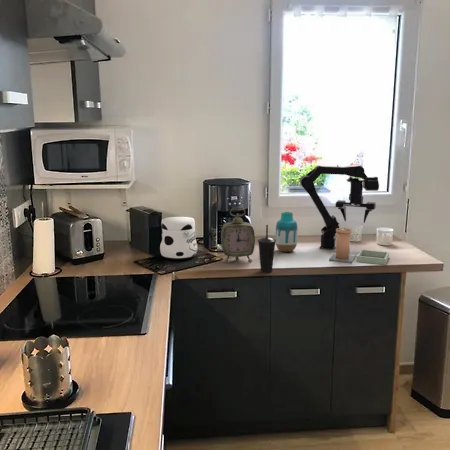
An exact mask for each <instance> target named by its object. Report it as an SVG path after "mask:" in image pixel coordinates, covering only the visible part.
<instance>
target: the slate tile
mask: <svg viewBox="0 0 450 450" xmlns="http://www.w3.org/2000/svg"><path fill="white" fill-rule="evenodd" d="M335 256H336V253H333V254H332V255H331V256H330V258H329V259H328V261H329V262H337V263H344V264H347V263H348V264H352V263H353V261H354V260H355V258H356V255H350V254H349V258H348V259H339V258H336V257H335Z"/></svg>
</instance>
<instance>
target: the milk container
mask: <svg viewBox="0 0 450 450" xmlns="http://www.w3.org/2000/svg"><path fill="white" fill-rule="evenodd" d="M195 221H196V220H195V218H193V217H190V216H169V217H165V218H162V219H161V226H160V227H161V229H160V230H161V231H160V232H161V242H160V245H159V246H160V247H159V250H160V251H159V252H160V254H161V256H162V257H163V258H165V259H168V260H174V261H175V260H176V261H177V260H179V261H181V260H187V259H192V258H194V257H195V256H196V255H197V254H198V253H197V252H198V243H197V240H196V222H195Z"/></svg>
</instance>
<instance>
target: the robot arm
mask: <svg viewBox="0 0 450 450" xmlns="http://www.w3.org/2000/svg"><path fill="white" fill-rule="evenodd" d="M321 175H340V176H343V175H345V176H349V178H347V179H346V181H347V182H348V183H350V193H348V194H349V195H348V201H349V202H347V201H346V200H344V199H343V200H339V199H338V200H337V201H336V202H335V208H337V209H338V210H340V212H341V214H342V217H343V220H344V222H347V207H356V208H365V210H364V215H363V224H364V223H366V220H367V218H368V215H369V213H370V212H372V211H373V210H375V209H376V208H377V204H376V202H373V201H367V202H365V203H363V202H364V196H363V189H364V191H365V192H370V191H371V192H372V191H373V192H378V191H379V189H380V183H379V177H378V176H369V177H368V176H367V174H366V172H365V168H364V167H363V166H361V165H359V164H350V165H346V166H333V165H332V166H331V165H317V166H315V167H314V168H313V169H312V170H311V171H309V172H308V173H306V174H304V175H301V177H300V178H299V181H298V183H299V184H300V186H301V187H302V188H303V189H304V191H305V192H306V193H307V194H308V196H310V199H311V200H312V202H313V204H314V205H315V207H316V209H317V210H318V212H319V214H320V216H321V219H322V220H323V224H324V226H323V227H322V228H321V229H320V232H321V235H320V246H319V248H320V249H326V250H327V249H328V250H334V248H336V240H337V237H336V235H337V232H336V229H337V228H340V223H339V222H338V219H337V217H336V216H335V215H331V214H330V213H329V211H328V209H327V207H326V206H325V204H324V202H323V201H322V199H321V197H320V196H319V194H318V192H317V189H316V185H315V183H314V182H316V180H317V179H318V178H319V177H320V176H321ZM359 178H360V179H359ZM361 179H362V180H361ZM335 237H336V238H335Z"/></svg>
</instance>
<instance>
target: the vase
mask: <svg viewBox="0 0 450 450" xmlns="http://www.w3.org/2000/svg"><path fill="white" fill-rule="evenodd" d="M293 216H294V215H293V212H292V211H282V212H281V213H280V219H279V220H277V222H276V224H275V235H274V237H275V238H274V239H276V242H275V247H276V248H277V250H279V251H281V252H284V253H287V252H293V251H295V249H296V247H297V245H298V230H299V229H298V222H297V221H296V220H294V218H293Z"/></svg>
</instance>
